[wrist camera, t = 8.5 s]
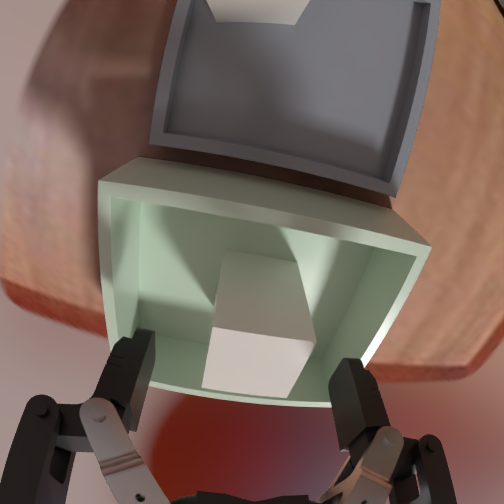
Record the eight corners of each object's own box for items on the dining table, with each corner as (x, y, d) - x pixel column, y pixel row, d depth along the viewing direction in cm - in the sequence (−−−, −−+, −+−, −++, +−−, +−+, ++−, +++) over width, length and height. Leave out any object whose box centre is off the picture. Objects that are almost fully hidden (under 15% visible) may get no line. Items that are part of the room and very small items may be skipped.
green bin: (137, 156, 14) (98, 180, 10) (392, 209, 15) (432, 246, 11) (134, 329, 20) (115, 377, 16) (324, 358, 21) (335, 407, 17)
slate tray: (206, -57, 8) (202, -70, 7) (426, 5, 9) (440, 0, 8) (158, 139, 14) (148, 144, 12) (383, 188, 15) (395, 197, 13)
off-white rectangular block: (224, 248, 16) (212, 326, 11) (297, 262, 16) (316, 341, 11) (213, 306, 18) (201, 387, 12) (278, 317, 18) (286, 397, 13)
